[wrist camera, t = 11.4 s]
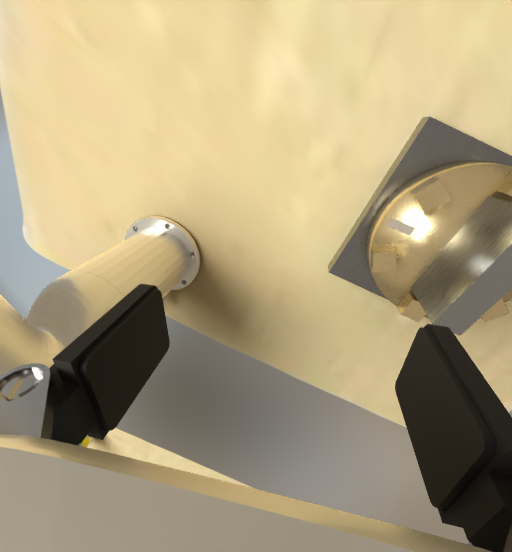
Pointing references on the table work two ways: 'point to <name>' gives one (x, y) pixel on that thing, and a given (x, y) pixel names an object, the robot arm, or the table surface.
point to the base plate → (409, 164)
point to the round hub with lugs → (447, 245)
